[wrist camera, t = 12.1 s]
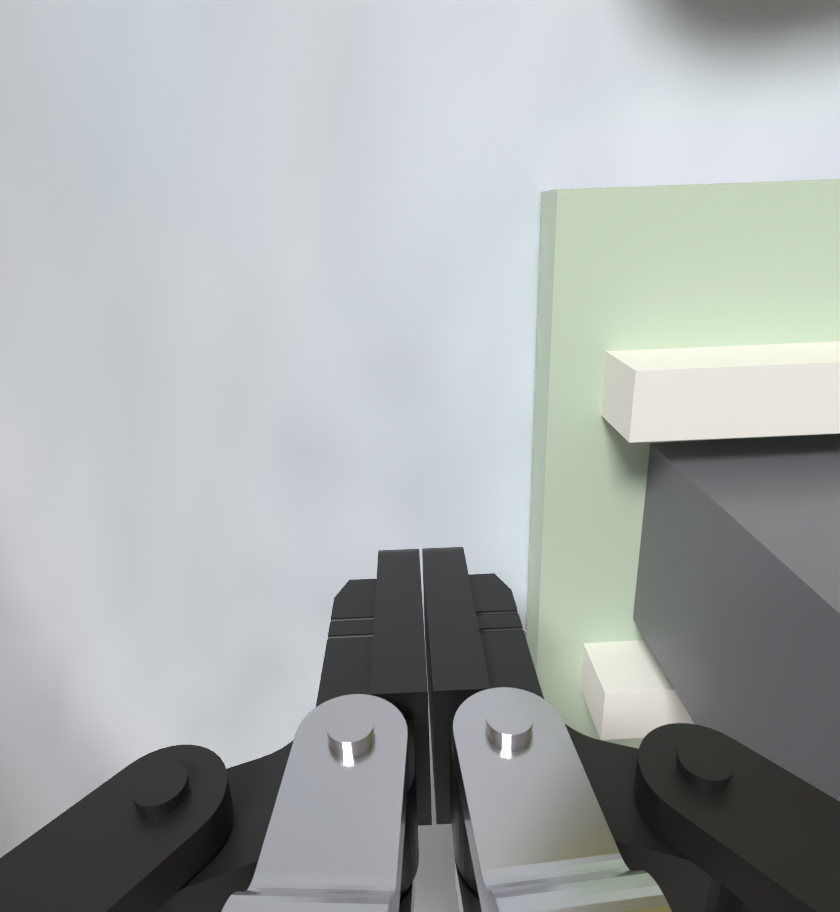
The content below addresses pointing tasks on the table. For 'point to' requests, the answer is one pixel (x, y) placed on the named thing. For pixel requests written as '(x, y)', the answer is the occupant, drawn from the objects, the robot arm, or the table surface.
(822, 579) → the plug
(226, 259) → the table surface
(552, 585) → the board
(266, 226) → the table surface
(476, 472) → the table surface
